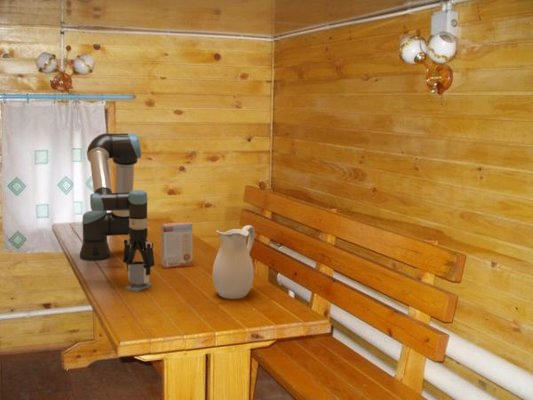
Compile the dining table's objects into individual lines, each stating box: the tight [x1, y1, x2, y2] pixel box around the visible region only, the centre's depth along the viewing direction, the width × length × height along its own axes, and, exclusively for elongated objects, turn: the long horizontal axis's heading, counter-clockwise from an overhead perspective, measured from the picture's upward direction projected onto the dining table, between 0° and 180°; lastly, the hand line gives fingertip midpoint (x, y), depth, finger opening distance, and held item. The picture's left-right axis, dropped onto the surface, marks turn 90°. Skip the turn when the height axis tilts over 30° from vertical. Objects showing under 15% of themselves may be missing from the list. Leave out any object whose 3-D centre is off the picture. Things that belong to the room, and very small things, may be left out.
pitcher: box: [212, 224, 256, 300], centre depth 264 cm, size 24×17×28 cm
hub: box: [129, 260, 145, 284], centre depth 269 cm, size 7×7×8 cm
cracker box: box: [160, 221, 194, 269], centre depth 304 cm, size 14×6×21 cm, turn 113°
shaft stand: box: [125, 282, 153, 293], centre depth 269 cm, size 6×10×8 cm, turn 152°
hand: (138, 280), depth 270 cm, fingers closed on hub, 7 cm apart
